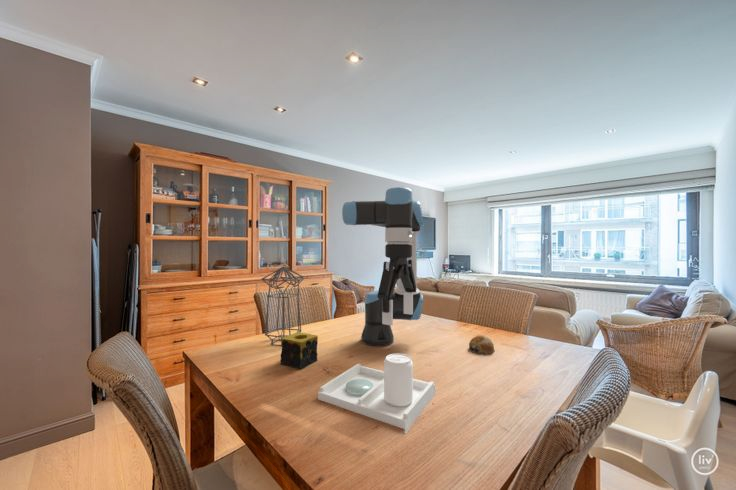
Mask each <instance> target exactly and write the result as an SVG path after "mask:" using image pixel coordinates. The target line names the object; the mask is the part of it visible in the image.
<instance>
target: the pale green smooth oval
mask: <svg viewBox="0 0 736 490" xmlns="http://www.w3.org/2000/svg"><path fill="white" fill-rule="evenodd" d="M371 388H373V383H372V382H371V381H369V380H365V379H355V380H351V381H349V382H348V383H347V384H346V392H347V393H348V394H350V395H353V396H363V395H364V394H365V393H366V392H368V391H369V390H370V389H371Z"/></svg>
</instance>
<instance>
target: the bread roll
mask: <svg viewBox="0 0 736 490" xmlns="http://www.w3.org/2000/svg"><path fill="white" fill-rule="evenodd" d="M468 344H469V349H470V351H472V352H474V353H477V354H483V355H487V354H493V353H494V352H495V346H494V345H495V344H494V343H493V341H492V339H491V338H490V337H488V336H485V335H476V336H474V337H472V338H471V340H470V341H469V343H468Z"/></svg>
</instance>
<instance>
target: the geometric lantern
mask: <svg viewBox="0 0 736 490" xmlns="http://www.w3.org/2000/svg"><path fill="white" fill-rule="evenodd" d="M283 273H284V276H283ZM295 275H296V276H297V277H296V276H295ZM269 276H271V277H270V278H268V277H269ZM298 276H299V277H298ZM279 278H281V279H282V280H281V279H279ZM305 279H306V277H305V276H303V275H301V274H300V273H298V272H296V271H294V270H292V268H291V269H290V268H288V267H287V266H281V267H280V268H278V269H276V270H274V271H273V272H271V273H269V274H267V275H266V276H264V277H262V278H261V279H260V280H261V281H263V283H265V284H267V285H268V294H267V296H266V297H267V305H266V315H265V326H264V336H266V337H267V338H268V339H269V340H271V343H270V345H271V346H280V347H282V346H281V344H276V343H277V342H281V340H280V339H281V338H283V337H286V336H289V335H292V334H291V331H296V333H297V332H301V333H302V326H301V325H302V322H301V313H300V310H301V309H300V297H299V295H300V284H301V283H302V281H304V280H305ZM278 282H281V283H279V284H278ZM284 283H287V286H286V288H285V289H284V291H283V292H282V290H281V288H280V286H282V284H284ZM290 285H291V288H290V289H289V292H288V293H286V292H287V289H288V287H290ZM296 287H297V290H296ZM272 288H273V289H275V291H276V292H277V293H275V294H271V290H272ZM293 288H294V291H295V293H293V295H292V296H291V295H290V294H291V291H292V289H293ZM278 290H279V291H278ZM277 295H278V296H277ZM281 295H282V296H281ZM285 295H286V296H285ZM289 295H290V296H289ZM274 296H275V298H276V299H278V301H277V317H276V319H277V321H276V328H275V329H273V330H271V331H268V329H269V325H268V324H269V305H270V303H269V302H270V298H274ZM294 297H296V298H297V328H291V322H290V321H291V320H290V319H291V317H290V316H291V315H290V298H294ZM281 299H282V302H281V303H282V304H281V305H282V307H281V308H282V311H281V312H282V315H281V316H282V318H281V321H282V322H281V325H282V326H281V327H282V328H279V315H280V301H281ZM285 299H287V314H288V315H287V316H288V317H287V318H288V320H287V321H288V328H286V327H285V319H286V317H285V313H286V312H285V307H286V306H285V304H286V303H285ZM280 330H281V334H280V332H279V331H280ZM285 330H286V331H288V333H289V334H287V335H286V334H285V333H286V332H285ZM276 331H277V333H278V335H272V334H271V333H273V332H276ZM273 337H274V338H273ZM277 338H278V339H277Z"/></svg>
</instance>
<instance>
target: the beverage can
mask: <svg viewBox="0 0 736 490" xmlns="http://www.w3.org/2000/svg"><path fill="white" fill-rule="evenodd" d="M383 371H384V399H385V401H386V402H387V403H389V404H391V405H394V406H405V405H408V404H410V403H411V402H412V401H413V379H414V375H413V374H414V362H413V361H412V357H411V356H410V355H408V354H404V353H391V354H387V355H386V357H385V359H384V361H383Z"/></svg>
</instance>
